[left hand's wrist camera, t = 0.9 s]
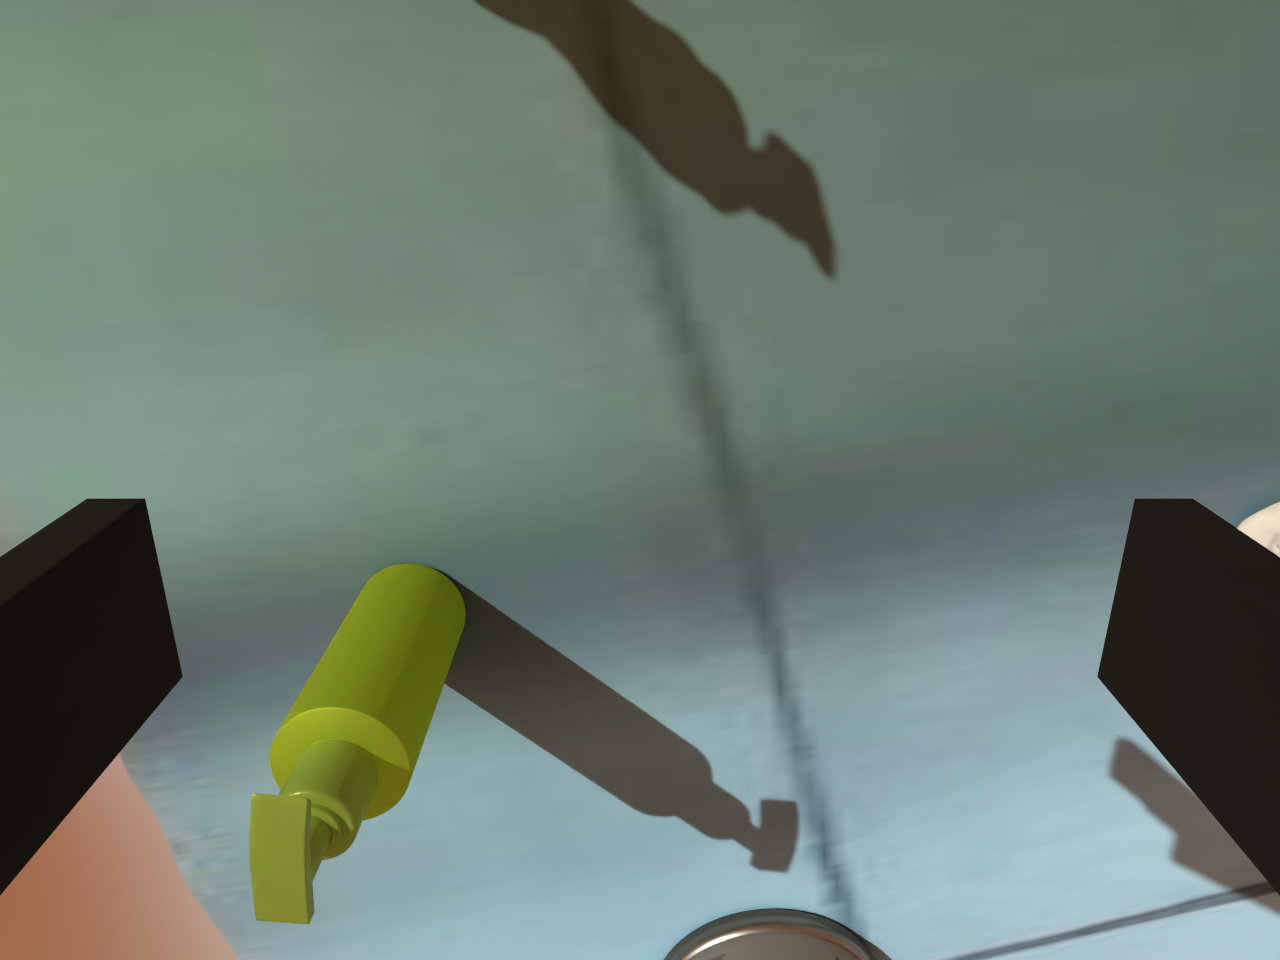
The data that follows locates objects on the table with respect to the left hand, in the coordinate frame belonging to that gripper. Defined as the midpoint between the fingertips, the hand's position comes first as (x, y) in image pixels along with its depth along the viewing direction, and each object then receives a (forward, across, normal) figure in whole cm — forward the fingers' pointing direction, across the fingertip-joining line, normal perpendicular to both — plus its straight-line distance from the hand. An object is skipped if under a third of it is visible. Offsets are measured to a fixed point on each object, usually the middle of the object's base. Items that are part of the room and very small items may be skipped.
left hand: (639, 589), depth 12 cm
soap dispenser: (+34, +12, +18) cm, 40 cm away
